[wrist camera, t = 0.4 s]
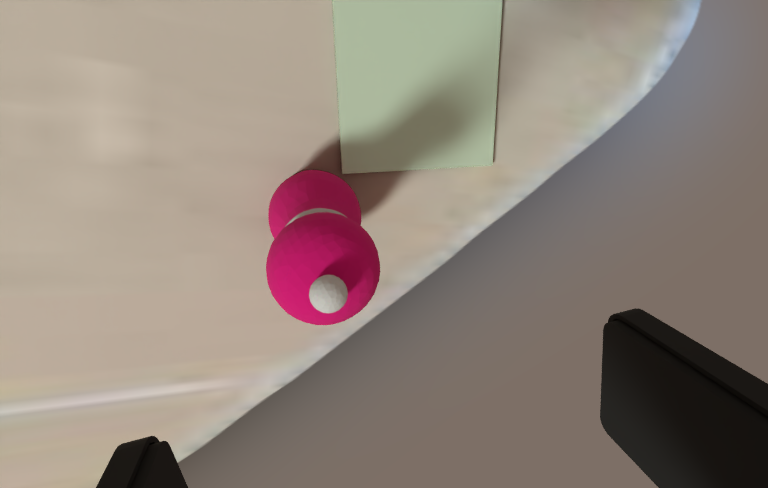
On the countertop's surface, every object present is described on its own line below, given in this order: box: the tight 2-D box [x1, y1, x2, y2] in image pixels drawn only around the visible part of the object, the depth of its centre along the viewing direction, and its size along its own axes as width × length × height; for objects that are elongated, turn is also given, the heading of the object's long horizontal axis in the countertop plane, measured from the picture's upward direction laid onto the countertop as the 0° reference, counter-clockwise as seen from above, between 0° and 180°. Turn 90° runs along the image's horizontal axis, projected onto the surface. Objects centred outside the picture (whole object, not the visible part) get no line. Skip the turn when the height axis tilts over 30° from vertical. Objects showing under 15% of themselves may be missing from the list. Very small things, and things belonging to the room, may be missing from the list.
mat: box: [332, 0, 502, 174], centre depth 35 cm, size 14×14×1 cm
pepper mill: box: [266, 170, 380, 325], centre depth 28 cm, size 7×7×20 cm
